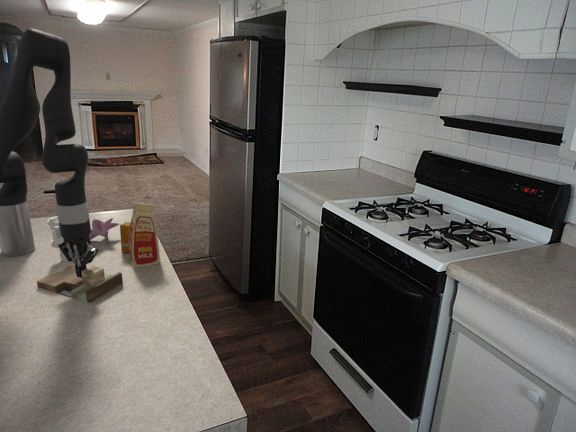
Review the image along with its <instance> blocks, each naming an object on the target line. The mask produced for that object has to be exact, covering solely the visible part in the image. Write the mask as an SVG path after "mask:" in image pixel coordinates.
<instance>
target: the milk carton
mask: <svg viewBox="0 0 576 432" xmlns="http://www.w3.org/2000/svg"><path fill="white" fill-rule="evenodd" d="M132 205H133V207H132V215H131V219H130V222H129V223H130V234H129V246H130V253H129V254H130V258H131V262H132V265H133V269H137V268H142V267H148V266H154V265H158V264H161V256H160V246H159V237H158V230H157V226H156V225H157V224H156V222H155V221H156V220H155V215H154V214H155V207H156V205H157V204H156V203H139V202H132Z"/></svg>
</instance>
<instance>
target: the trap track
mask: <svg viewBox="0 0 576 432" xmlns="http://www.w3.org/2000/svg"><path fill="white" fill-rule="evenodd" d="M104 275H105V280H104V281H102V282H100V283H98V284H96V285H95V286H93V287H91V286H87V285H84V284H83V280H82V278H80V277H77V275H76V271H75V265H73V264H71V265H69V266H67V267H63V268H62V269H60V270H57V271H56V272H53V273H50V274H49V275H47V276H45V277H42V278H41V279H39V280H36V286H37V288H39V289H41V290H45V291H49V292H51V293H55V294H59V295H62V296H65V297H68V298H72V299H75V300H79V301H82V302H85V303H88V304H89V303H92V302H95V301H96V300H97V299H100V298H101V297H102V296H103V297H104V296H105V295H106V294H108V293H109V292H112V291H113V290H115V289H116V288H118V287H119V286H122V285H123V284H124V282H123V272H120V271H118V272H116V273H115V274H109V273H105V272H104Z"/></svg>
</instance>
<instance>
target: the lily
mask: <svg viewBox="0 0 576 432" xmlns="http://www.w3.org/2000/svg"><path fill="white" fill-rule="evenodd" d="M113 220H114V218H113V217H111V218H109V219H107V220H105V221H102V220H100V219H95V218H94V219H92V221H91V226H92V228H91V233H90V235H89V239H90V241H91V240H93V239H95V238H96V237H98V236H100V237H103V238H104V239H105V241H106V244H107V246H109V242H108V240H107V238H108V236H109V231H110V230H111V229H113V228H115V227H118V226H120V223H118V222H113Z"/></svg>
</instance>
